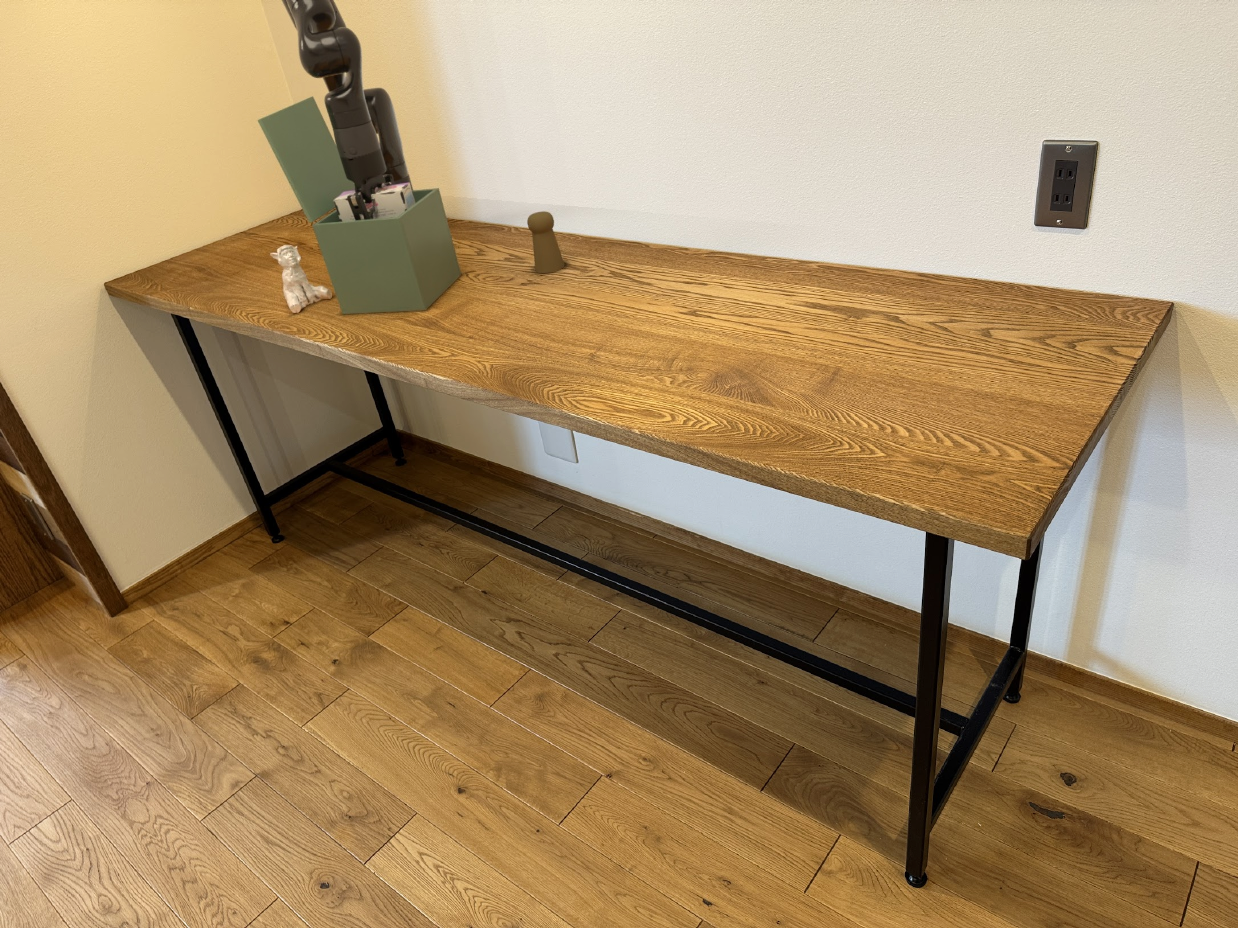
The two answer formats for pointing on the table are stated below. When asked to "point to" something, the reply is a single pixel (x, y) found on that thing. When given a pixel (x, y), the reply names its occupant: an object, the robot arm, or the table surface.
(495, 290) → the table surface
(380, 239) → the chest
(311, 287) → the sitting furry creature
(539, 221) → the brown game pawn
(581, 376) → the table surface
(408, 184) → the candy box
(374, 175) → the robot arm
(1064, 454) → the table surface
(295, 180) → the lid
